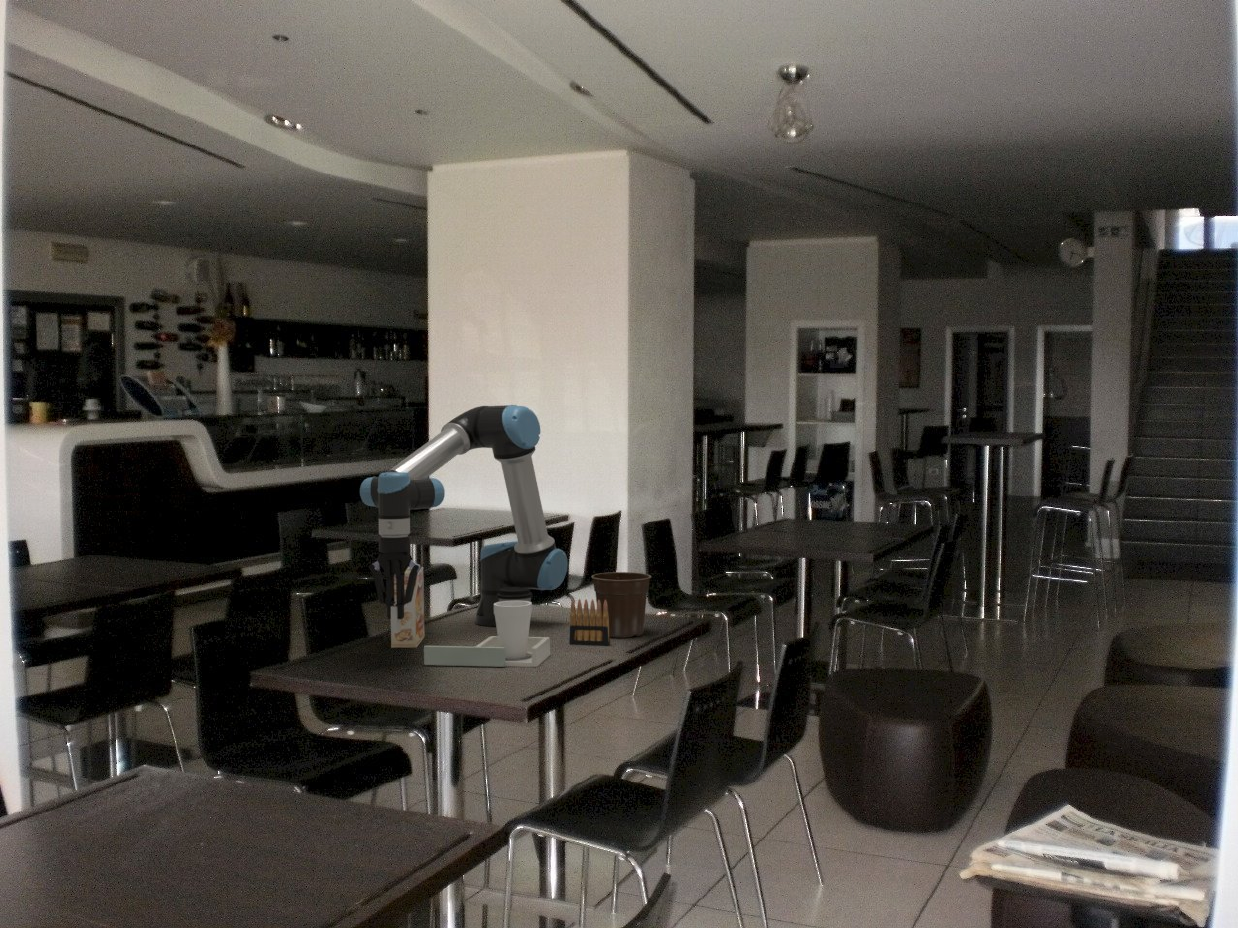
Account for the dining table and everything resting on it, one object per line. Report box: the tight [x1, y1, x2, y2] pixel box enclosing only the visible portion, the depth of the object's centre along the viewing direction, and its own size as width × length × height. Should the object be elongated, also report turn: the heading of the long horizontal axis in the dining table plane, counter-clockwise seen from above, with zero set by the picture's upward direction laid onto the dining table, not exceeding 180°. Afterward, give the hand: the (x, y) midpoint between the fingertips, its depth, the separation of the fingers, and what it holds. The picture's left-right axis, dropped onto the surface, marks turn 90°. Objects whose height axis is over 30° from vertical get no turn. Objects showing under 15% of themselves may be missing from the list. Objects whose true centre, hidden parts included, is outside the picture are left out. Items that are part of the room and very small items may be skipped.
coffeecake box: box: [390, 566, 425, 649], centre depth 330 cm, size 15×7×20 cm, turn 0°
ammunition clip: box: [568, 598, 611, 647], centre depth 323 cm, size 11×2×12 cm, turn 76°
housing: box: [475, 635, 551, 668], centre depth 305 cm, size 14×15×4 cm
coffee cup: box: [497, 587, 533, 602], centre depth 323 cm, size 9×9×15 cm
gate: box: [423, 645, 506, 668], centre depth 299 cm, size 1×20×4 cm, turn 80°
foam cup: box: [494, 601, 533, 659], centre depth 304 cm, size 10×9×13 cm
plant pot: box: [591, 571, 652, 639], centre depth 337 cm, size 16×16×16 cm
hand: (395, 632), depth 301 cm, fingers closed
